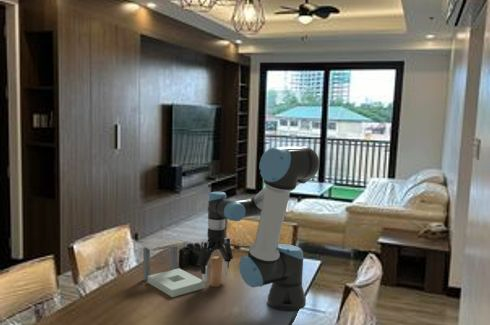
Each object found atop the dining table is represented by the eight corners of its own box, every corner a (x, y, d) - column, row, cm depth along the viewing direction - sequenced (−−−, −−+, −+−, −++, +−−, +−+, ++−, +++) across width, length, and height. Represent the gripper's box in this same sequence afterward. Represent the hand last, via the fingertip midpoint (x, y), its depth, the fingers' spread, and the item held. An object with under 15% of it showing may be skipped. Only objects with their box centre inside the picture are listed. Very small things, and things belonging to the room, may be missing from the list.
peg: (222, 285, 194) (223, 258, 193) (214, 287, 191) (215, 260, 190) (216, 282, 197) (217, 255, 196) (208, 284, 194) (209, 257, 193)
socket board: (204, 288, 190) (204, 281, 190) (172, 297, 180) (172, 290, 179) (179, 274, 205) (179, 268, 205) (147, 282, 195) (147, 275, 194)
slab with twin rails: (183, 277, 202) (184, 242, 200) (152, 285, 192) (152, 248, 190) (174, 272, 208) (174, 238, 206) (143, 279, 198) (143, 244, 196)
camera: (192, 271, 210) (192, 251, 209) (176, 266, 216) (176, 246, 215) (211, 264, 221) (211, 244, 220) (195, 259, 227) (195, 240, 226)
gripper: (231, 222, 201) (229, 270, 204) (189, 229, 187) (187, 281, 189) (242, 226, 196) (240, 275, 198) (199, 233, 181) (198, 286, 183)
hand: (214, 278), depth 193 cm, fingers open, 10 cm apart
